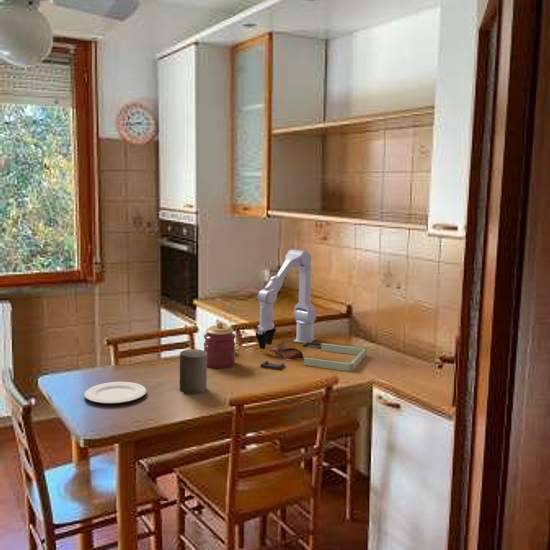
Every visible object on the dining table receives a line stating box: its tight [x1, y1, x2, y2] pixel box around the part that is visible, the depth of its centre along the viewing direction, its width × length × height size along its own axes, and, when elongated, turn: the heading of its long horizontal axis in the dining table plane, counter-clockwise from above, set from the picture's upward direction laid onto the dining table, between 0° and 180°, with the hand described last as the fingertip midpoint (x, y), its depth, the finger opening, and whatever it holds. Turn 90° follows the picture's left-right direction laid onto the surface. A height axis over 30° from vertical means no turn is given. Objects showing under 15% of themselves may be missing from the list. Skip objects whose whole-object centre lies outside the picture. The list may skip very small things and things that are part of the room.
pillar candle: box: [178, 348, 208, 395], centre depth 217 cm, size 10×10×15 cm
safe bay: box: [303, 342, 367, 373], centre depth 258 cm, size 25×20×3 cm
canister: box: [203, 321, 237, 369], centre depth 247 cm, size 13×13×18 cm
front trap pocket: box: [260, 360, 285, 371], centre depth 247 cm, size 6×8×1 cm
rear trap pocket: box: [302, 341, 322, 350], centre depth 277 cm, size 5×8×1 cm, turn 69°
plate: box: [84, 381, 147, 405], centre depth 210 cm, size 21×21×2 cm
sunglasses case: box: [268, 340, 304, 361], centre depth 265 cm, size 18×7×7 cm
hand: (265, 346), depth 269 cm, fingers open, 7 cm apart
